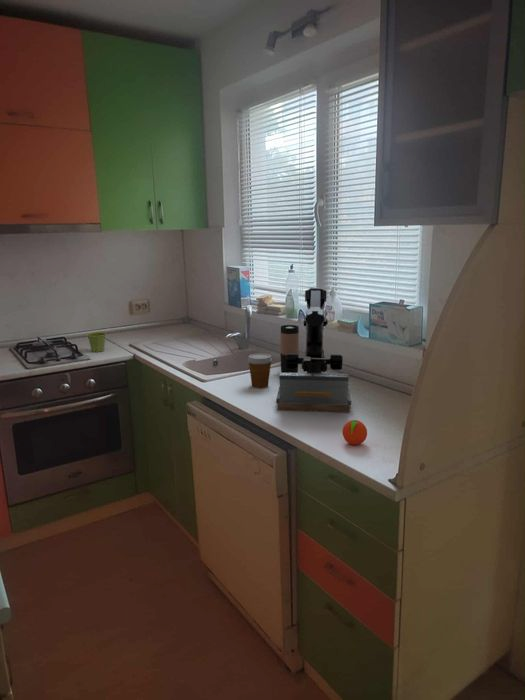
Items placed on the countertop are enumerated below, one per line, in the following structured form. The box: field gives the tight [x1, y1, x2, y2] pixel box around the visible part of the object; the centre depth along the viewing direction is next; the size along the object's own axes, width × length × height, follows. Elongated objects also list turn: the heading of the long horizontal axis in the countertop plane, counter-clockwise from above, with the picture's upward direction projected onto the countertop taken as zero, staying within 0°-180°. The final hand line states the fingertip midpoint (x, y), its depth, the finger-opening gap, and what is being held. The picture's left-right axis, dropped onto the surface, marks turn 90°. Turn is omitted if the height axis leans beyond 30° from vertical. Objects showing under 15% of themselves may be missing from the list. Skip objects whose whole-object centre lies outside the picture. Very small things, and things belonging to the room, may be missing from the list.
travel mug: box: [279, 324, 300, 373], centre depth 217 cm, size 8×8×20 cm
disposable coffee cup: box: [247, 353, 273, 389], centre depth 200 cm, size 10×10×12 cm
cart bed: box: [275, 386, 352, 413], centre depth 179 cm, size 14×25×4 cm, turn 84°
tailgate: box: [278, 371, 350, 405], centre depth 169 cm, size 2×22×12 cm, turn 83°
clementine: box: [341, 419, 368, 446], centre depth 145 cm, size 8×7×7 cm
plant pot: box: [86, 331, 107, 353], centre depth 260 cm, size 9×9×9 cm
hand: (313, 383), depth 169 cm, fingers closed, pressing on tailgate
